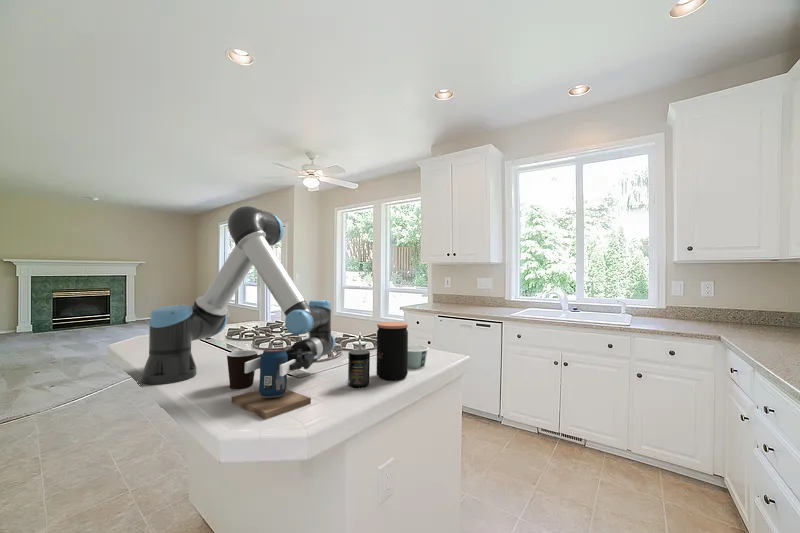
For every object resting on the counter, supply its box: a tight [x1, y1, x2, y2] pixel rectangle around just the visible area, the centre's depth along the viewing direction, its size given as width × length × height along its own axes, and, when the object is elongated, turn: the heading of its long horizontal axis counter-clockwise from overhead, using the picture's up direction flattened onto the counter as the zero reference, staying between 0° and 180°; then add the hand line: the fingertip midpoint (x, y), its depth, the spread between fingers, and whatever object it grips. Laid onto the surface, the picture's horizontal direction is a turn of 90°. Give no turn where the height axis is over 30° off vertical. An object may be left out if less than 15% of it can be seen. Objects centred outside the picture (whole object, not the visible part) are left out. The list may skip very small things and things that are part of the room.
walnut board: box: [230, 389, 312, 420], centre depth 91 cm, size 17×13×2 cm
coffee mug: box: [226, 349, 258, 390], centre depth 106 cm, size 12×9×10 cm
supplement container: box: [347, 349, 371, 390], centre depth 106 cm, size 7×7×10 cm
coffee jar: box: [376, 321, 409, 382], centre depth 116 cm, size 11×11×18 cm
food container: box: [408, 344, 430, 369], centre depth 133 cm, size 12×12×6 cm
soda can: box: [258, 348, 288, 398], centre depth 92 cm, size 7×7×12 cm
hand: (263, 369), depth 87 cm, fingers open, 9 cm apart
